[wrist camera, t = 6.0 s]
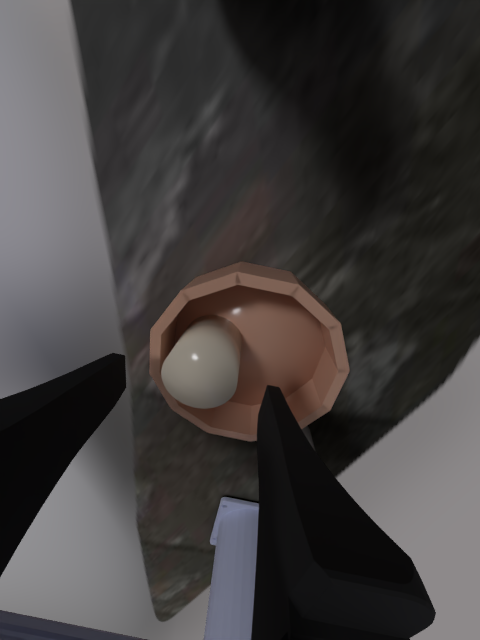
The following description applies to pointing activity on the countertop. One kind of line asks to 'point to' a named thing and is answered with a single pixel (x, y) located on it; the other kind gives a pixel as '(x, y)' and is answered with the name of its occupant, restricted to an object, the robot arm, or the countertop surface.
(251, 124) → the countertop surface
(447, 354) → the countertop surface
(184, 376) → the pebble
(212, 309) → the bowl
